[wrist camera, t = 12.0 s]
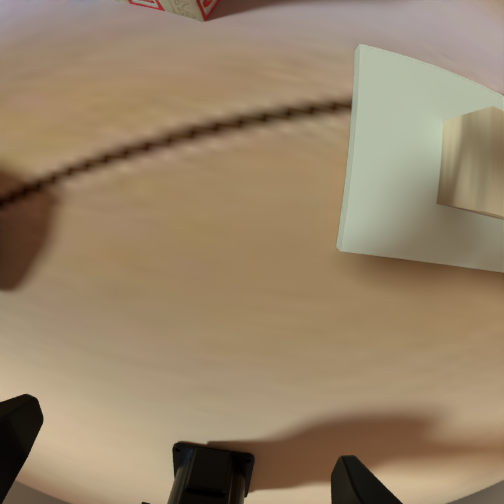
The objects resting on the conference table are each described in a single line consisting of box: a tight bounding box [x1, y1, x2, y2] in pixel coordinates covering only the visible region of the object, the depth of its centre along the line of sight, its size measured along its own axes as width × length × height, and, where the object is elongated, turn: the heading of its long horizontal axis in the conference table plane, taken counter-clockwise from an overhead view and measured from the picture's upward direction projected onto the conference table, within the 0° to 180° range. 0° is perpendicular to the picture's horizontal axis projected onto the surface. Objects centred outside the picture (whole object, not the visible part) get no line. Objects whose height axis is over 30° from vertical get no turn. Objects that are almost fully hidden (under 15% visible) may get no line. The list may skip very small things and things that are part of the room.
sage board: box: [336, 44, 504, 273], centre depth 16 cm, size 12×16×1 cm
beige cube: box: [436, 106, 504, 220], centre depth 13 cm, size 5×5×5 cm
